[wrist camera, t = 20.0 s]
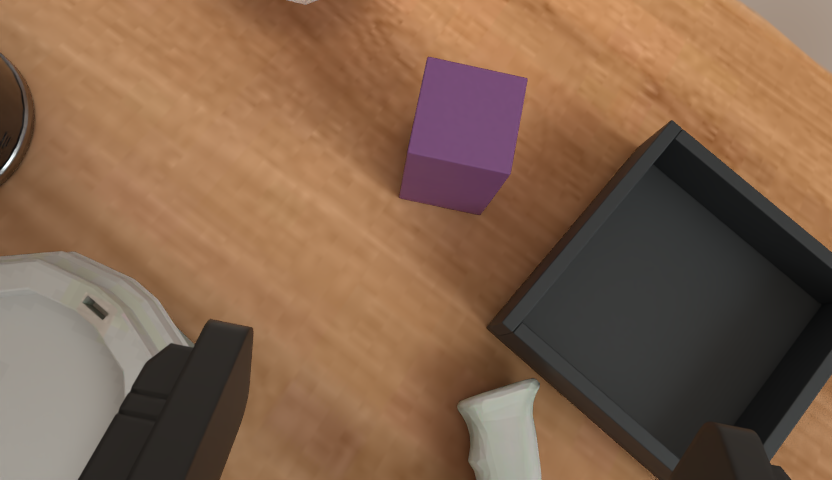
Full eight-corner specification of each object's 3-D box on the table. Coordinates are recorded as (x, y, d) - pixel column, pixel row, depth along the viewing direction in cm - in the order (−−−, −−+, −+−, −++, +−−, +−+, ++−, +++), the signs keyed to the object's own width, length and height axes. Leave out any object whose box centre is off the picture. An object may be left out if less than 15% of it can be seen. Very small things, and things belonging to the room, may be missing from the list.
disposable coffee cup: (157, 561, 33) (-12, 714, 18) (-8, 415, 34) (-297, 450, 19) (304, 385, 35) (258, 397, 20) (145, 250, 36) (-10, 168, 21)
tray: (485, 327, 36) (501, 322, 32) (638, 146, 39) (672, 119, 34) (685, 502, 35) (728, 520, 31) (829, 305, 38) (887, 297, 34)
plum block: (480, 215, 37) (510, 174, 29) (398, 198, 37) (407, 152, 29) (495, 137, 38) (528, 77, 30) (415, 120, 38) (427, 55, 30)
